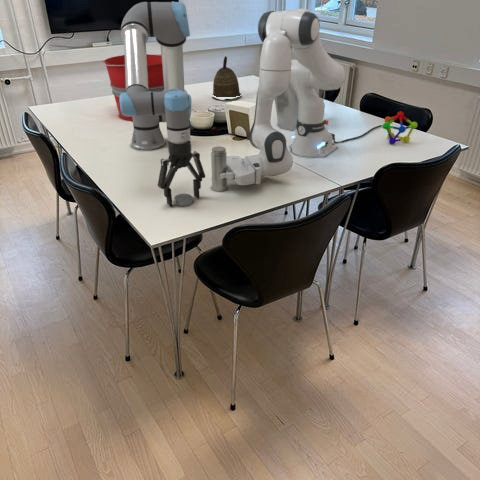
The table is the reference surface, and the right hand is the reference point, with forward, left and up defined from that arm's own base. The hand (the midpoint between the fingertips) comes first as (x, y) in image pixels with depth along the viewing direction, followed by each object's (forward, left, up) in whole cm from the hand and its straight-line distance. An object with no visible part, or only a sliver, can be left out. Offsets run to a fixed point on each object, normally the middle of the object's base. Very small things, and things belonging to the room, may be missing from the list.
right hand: (216, 172), depth 164 cm
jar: (-1, 0, -7) cm, 7 cm away
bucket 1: (-36, -101, -7) cm, 107 cm away
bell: (-96, -94, -7) cm, 135 cm away
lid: (+16, 0, -5) cm, 17 cm away
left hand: (+16, 0, -6) cm, 17 cm away
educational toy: (-94, +23, -7) cm, 97 cm away
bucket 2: (-82, -28, -7) cm, 87 cm away
